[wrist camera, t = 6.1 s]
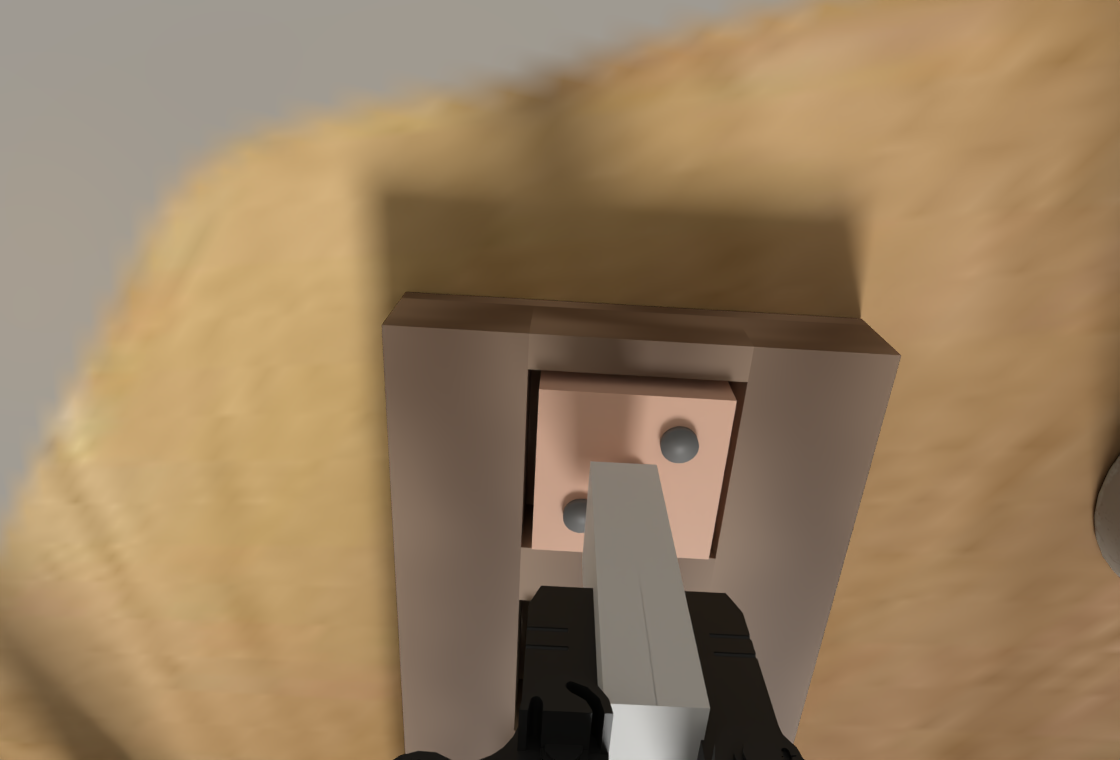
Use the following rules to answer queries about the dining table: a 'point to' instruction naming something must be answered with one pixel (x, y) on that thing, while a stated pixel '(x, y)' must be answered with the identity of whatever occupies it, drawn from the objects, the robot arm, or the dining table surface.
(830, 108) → the dining table surface
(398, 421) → the walnut board
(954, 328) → the dining table surface
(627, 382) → the tile three
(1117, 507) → the thermos bottle
